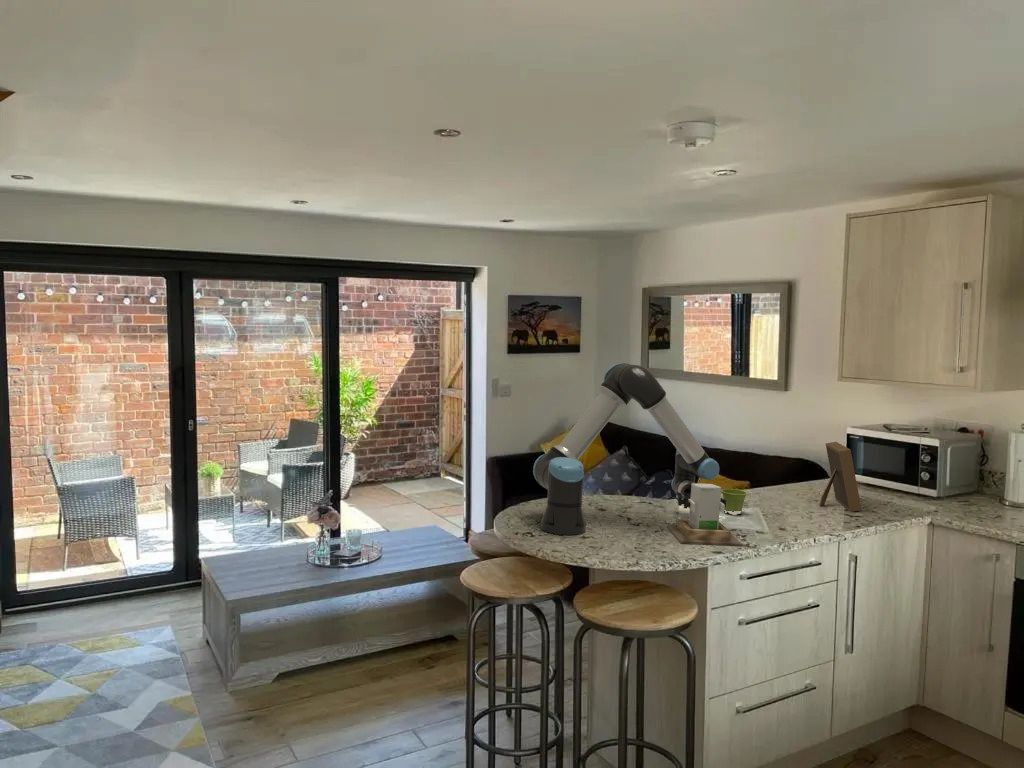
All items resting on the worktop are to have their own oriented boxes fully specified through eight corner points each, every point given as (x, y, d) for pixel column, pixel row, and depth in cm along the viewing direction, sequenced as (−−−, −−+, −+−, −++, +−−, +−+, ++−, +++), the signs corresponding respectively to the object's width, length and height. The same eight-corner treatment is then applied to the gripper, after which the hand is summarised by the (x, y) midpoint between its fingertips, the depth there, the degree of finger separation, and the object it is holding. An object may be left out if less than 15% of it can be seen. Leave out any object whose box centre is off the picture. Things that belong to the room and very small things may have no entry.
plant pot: (746, 517, 282) (748, 495, 282) (720, 515, 284) (722, 492, 284) (744, 512, 292) (745, 490, 291) (719, 509, 293) (720, 487, 293)
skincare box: (696, 533, 249) (699, 487, 248) (686, 528, 255) (689, 483, 254) (719, 533, 251) (722, 487, 250) (709, 527, 258) (712, 482, 256)
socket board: (680, 543, 243) (681, 532, 243) (666, 527, 263) (667, 516, 263) (741, 546, 244) (742, 534, 243) (723, 529, 264) (723, 518, 263)
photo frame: (846, 500, 322) (850, 442, 320) (861, 512, 300) (865, 450, 298) (809, 498, 324) (813, 440, 322) (822, 509, 303) (826, 448, 301)
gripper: (720, 504, 271) (740, 520, 249) (660, 502, 271) (675, 518, 248) (721, 484, 271) (742, 498, 248) (661, 481, 270) (676, 495, 248)
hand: (708, 508), depth 248 cm, fingers closed on skincare box, 9 cm apart
